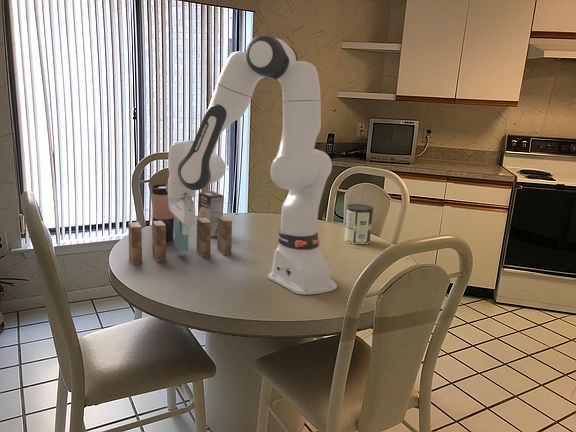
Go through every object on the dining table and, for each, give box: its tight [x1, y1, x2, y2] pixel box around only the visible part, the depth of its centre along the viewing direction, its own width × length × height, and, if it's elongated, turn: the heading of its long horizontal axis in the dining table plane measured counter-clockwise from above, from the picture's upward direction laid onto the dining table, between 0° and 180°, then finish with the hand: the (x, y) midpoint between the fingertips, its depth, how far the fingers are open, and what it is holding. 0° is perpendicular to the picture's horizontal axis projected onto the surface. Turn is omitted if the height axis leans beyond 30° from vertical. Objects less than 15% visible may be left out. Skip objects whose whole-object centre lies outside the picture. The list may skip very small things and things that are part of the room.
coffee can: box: [343, 203, 374, 245], centre depth 187 cm, size 10×10×14 cm
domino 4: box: [216, 215, 233, 256], centre depth 165 cm, size 3×6×12 cm, turn 27°
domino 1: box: [151, 220, 167, 262], centre depth 155 cm, size 3×6×12 cm, turn 27°
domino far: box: [127, 221, 143, 265], centre depth 152 cm, size 3×6×12 cm, turn 27°
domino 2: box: [173, 217, 189, 252], centre depth 158 cm, size 3×6×12 cm, turn 27°
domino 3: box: [196, 217, 212, 258], centre depth 162 cm, size 3×6×12 cm, turn 27°
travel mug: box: [151, 184, 175, 243], centre depth 174 cm, size 8×8×20 cm
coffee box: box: [197, 190, 224, 238], centre depth 186 cm, size 9×6×16 cm
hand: (181, 231), depth 158 cm, fingers closed on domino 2, 6 cm apart
